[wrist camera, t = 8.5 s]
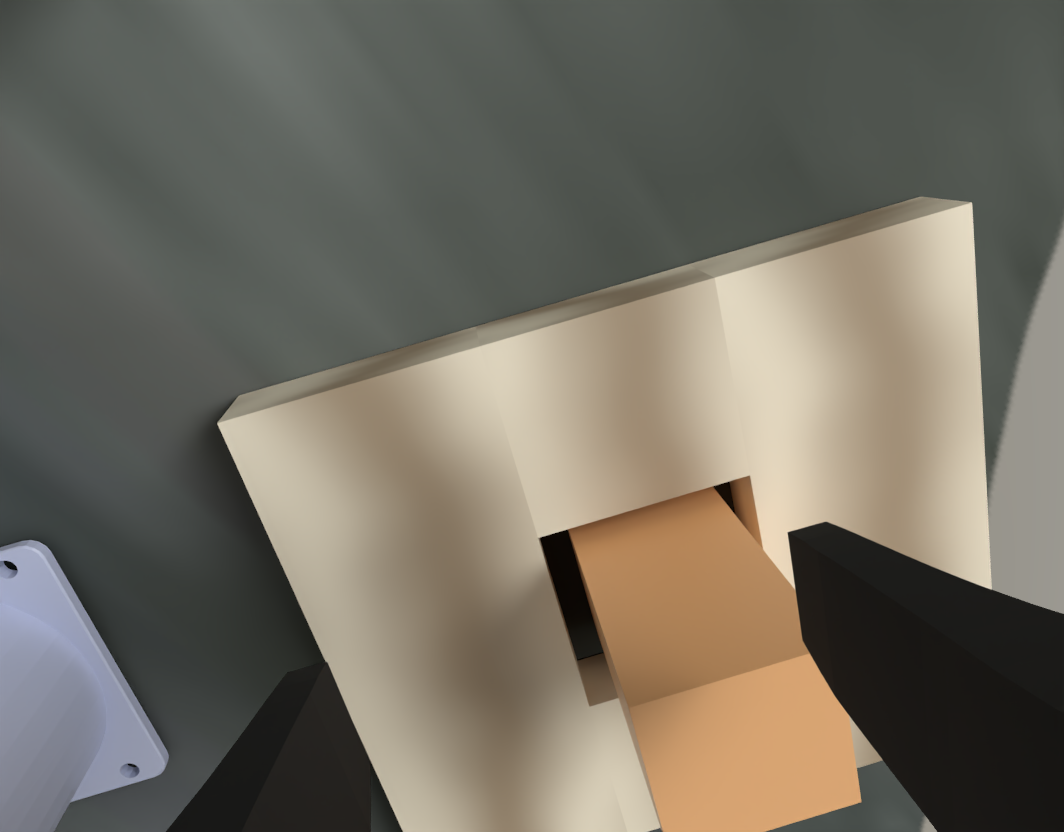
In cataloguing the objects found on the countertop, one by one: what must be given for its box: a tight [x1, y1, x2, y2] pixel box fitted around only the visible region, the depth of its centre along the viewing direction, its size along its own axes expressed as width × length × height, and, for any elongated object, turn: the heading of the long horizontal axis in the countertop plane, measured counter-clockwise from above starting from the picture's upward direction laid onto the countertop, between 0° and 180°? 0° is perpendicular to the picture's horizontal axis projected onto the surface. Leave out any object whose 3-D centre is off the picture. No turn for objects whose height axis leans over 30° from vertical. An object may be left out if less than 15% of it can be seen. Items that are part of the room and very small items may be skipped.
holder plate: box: [217, 197, 992, 832], centre depth 21 cm, size 18×16×2 cm
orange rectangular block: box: [567, 486, 861, 832], centre depth 18 cm, size 4×4×8 cm
